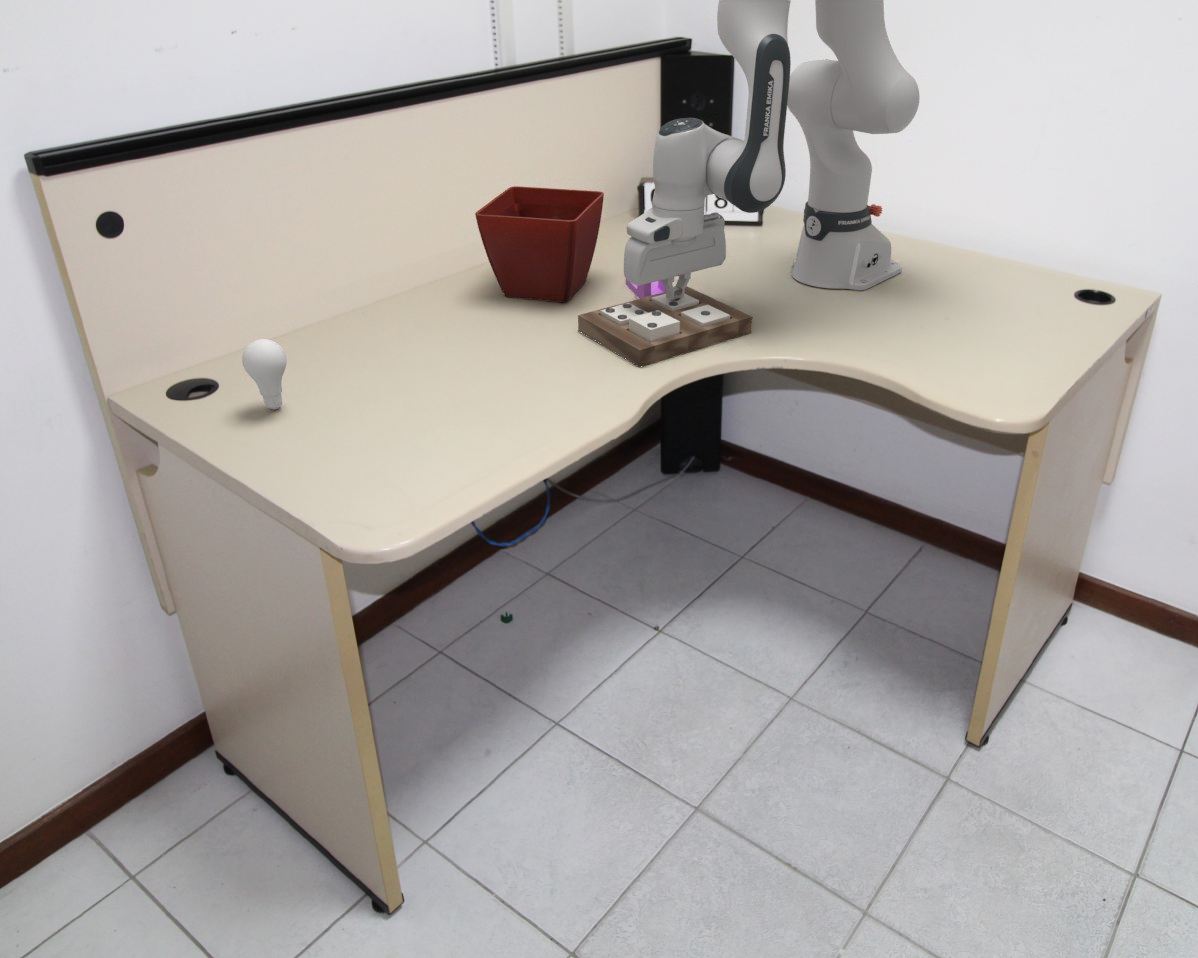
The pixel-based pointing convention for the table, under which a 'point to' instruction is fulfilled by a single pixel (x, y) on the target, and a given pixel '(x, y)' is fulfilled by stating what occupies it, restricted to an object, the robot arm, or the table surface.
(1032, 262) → the table surface
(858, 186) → the robot arm
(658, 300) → the button three dots
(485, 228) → the plant pot
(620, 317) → the button four dots
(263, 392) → the lightbulb
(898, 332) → the table surface
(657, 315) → the button two dots
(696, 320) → the button one dot
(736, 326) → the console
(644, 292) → the bracket
